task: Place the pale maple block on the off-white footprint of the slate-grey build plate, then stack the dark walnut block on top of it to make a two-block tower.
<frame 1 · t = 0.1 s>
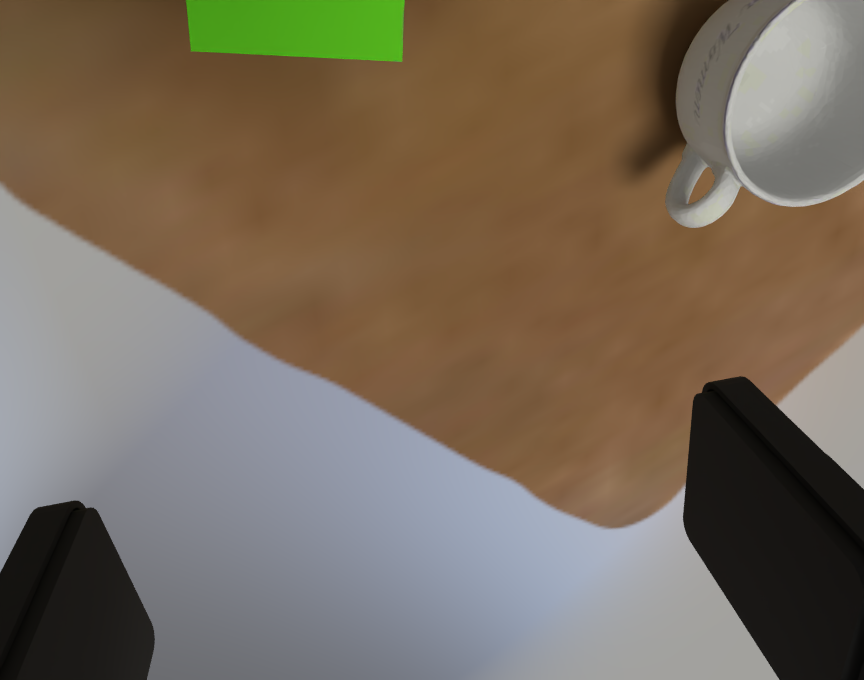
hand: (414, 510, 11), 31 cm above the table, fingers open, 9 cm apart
teacup: (718, 94, 41), on the table
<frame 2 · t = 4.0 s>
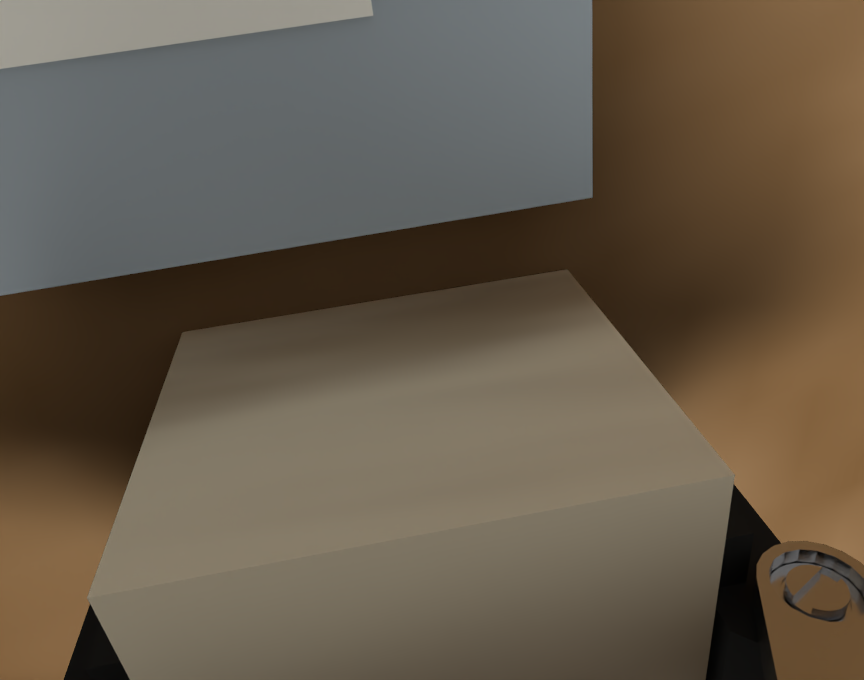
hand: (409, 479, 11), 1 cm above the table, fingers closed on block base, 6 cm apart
block base: (403, 452, 12), on the table, touching gripper
when the fingers open (3 cm above the table, at t = 8.9 s): block base drops 1 cm, resting on build plate.
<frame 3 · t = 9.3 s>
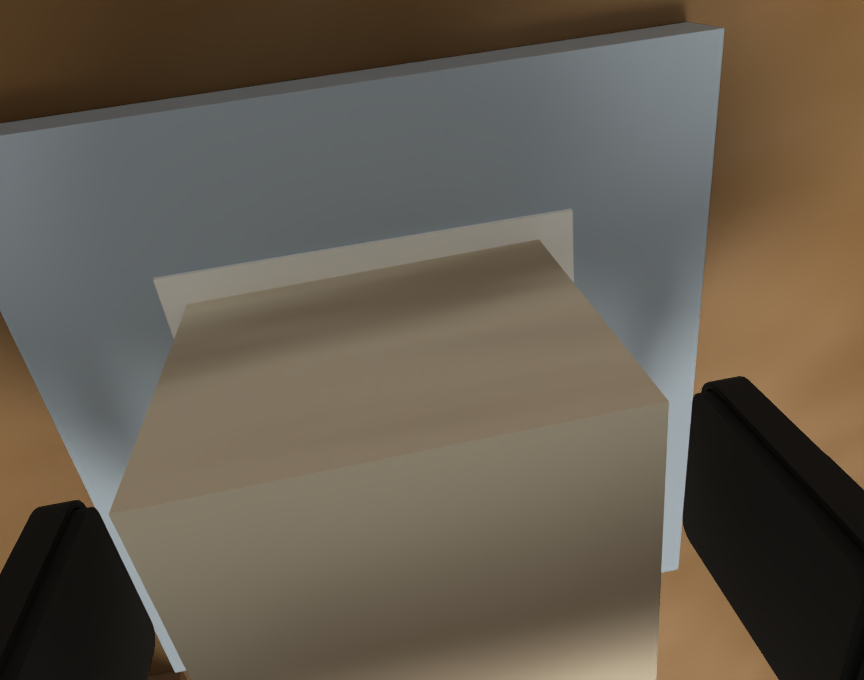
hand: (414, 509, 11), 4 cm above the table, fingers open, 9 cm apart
block base: (394, 414, 13), point 1 cm above the table, touching build plate
build plate: (390, 379, 14), on the table
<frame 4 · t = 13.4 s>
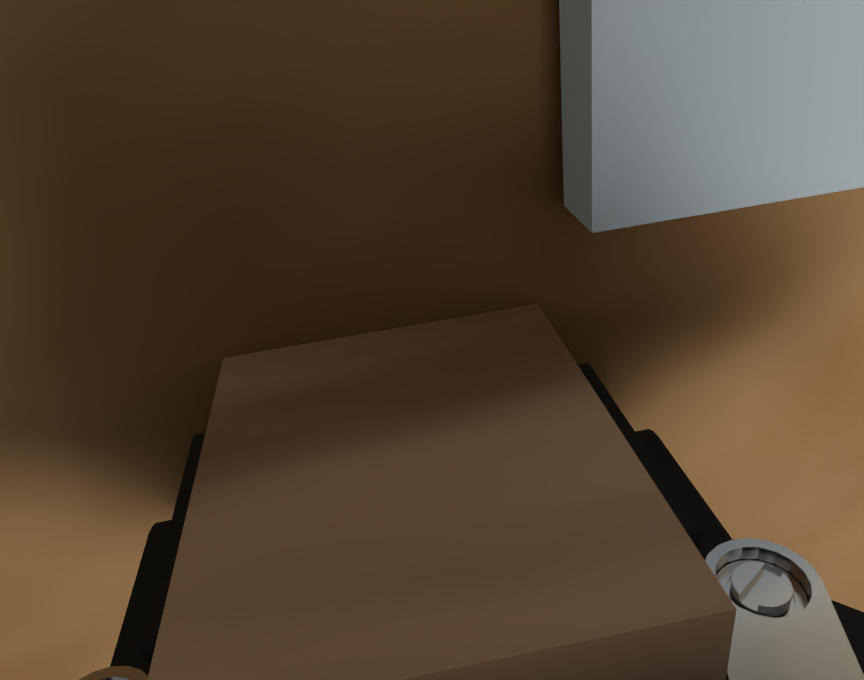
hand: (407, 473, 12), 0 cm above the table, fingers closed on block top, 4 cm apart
block top: (404, 454, 12), on the table, touching gripper
when the fingers open (8 cm above the table, at t = 18.2 s): block top stays where it is, resting on block base.
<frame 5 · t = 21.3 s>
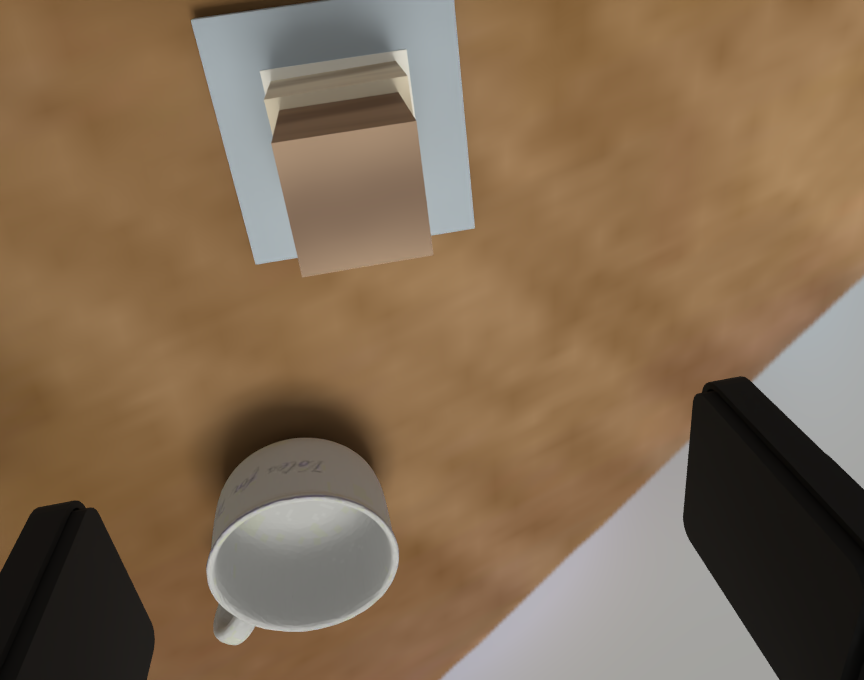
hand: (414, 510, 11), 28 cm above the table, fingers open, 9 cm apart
block base: (345, 134, 34), point 1 cm above the table, touching block top, build plate
build plate: (345, 129, 35), on the table
teacup: (289, 492, 46), on the table
block top: (349, 160, 30), point 6 cm above the table, touching block base
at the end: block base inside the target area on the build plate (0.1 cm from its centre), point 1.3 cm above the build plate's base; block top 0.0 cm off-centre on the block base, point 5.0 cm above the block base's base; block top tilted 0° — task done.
